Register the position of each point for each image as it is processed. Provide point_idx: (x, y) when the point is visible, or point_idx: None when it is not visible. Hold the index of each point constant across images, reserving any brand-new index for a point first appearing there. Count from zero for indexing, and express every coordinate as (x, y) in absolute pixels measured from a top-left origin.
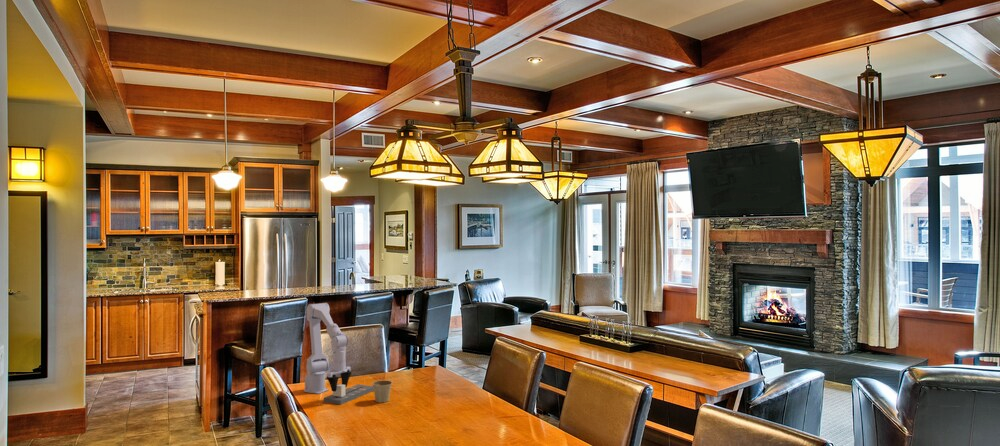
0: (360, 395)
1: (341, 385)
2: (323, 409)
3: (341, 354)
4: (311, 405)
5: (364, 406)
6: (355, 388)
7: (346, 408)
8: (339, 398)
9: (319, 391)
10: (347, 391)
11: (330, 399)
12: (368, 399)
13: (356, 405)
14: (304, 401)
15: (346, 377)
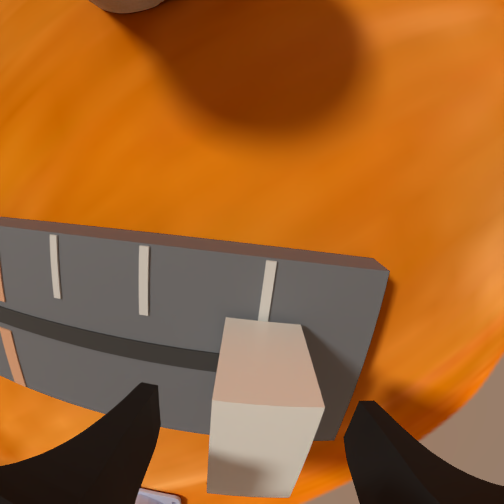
0: (66, 225)
1: (275, 429)
2: (480, 315)
3: None
4: (404, 429)
5: (345, 19)
6: (7, 333)
7: (444, 152)
8: (326, 324)
9: (156, 501)
10: (88, 364)
11: (354, 383)
12: (126, 90)
13: (346, 97)
14: (331, 489)
15: (104, 490)
